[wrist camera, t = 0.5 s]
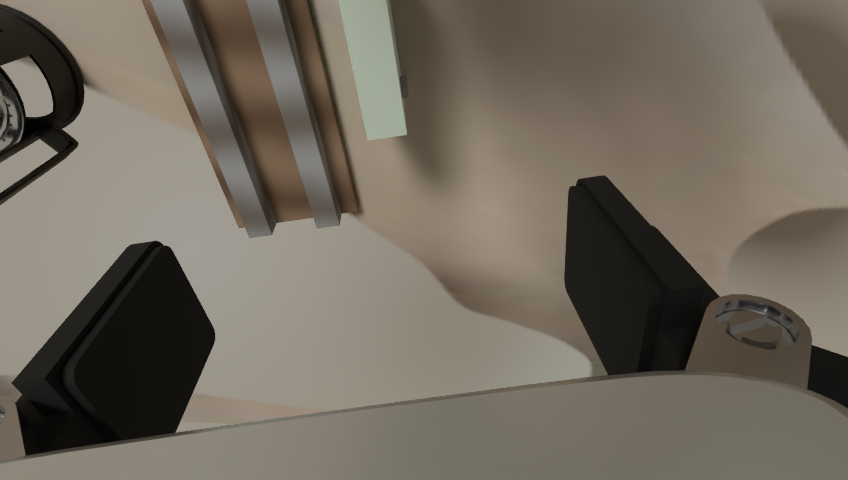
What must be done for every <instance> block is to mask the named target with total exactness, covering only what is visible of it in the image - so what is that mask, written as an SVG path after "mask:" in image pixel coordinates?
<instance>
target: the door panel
mask: <svg viewBox="0 0 848 480" xmlns="http://www.w3.org/2000/svg"><path fill="white" fill-rule="evenodd" d="M338 1H339V6H340V11H341V15H342V20H343V25H344V30H345V35H346V39H347V44H348V49H349V54H350V59H351V63H352V68H353V73H354V78H355V83H356V87H357V92H358V97H359V102H360V106H361V111H362V116H363V121H364V126H365V130H366V135H367V140H375V139H382V138H389V137H395V136H402V135H407V127H406V115H405V103H404V98H405V97H408V88H407V80H406V75H402V76H401V70H400V64H399V57H398V50H397V44H396V37H395V31H394V24H393V17H392V11H391V4H390V0H338Z"/></svg>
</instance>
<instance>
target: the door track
mask: <svg viewBox="0 0 848 480" xmlns="http://www.w3.org/2000/svg"><path fill="white" fill-rule="evenodd" d="M142 2H143V5H144V7H145V9H146V12H147V14H148V16H149V19H150V21H151V23H152V26H153V28H154V30H155V33H156V35H157V37H158V40H159V42H160V44H161V47H162V49H163V51H164V54H165V56H166V59H167V61H168V63H169V66H170V68H171V70H172V73H173V75H174V77H175V80H176V82H177V84H178V87H179V89H180V91H181V94H182V96H183V98H184V101H185V103H186V105H187V108H188V110H189V112H190V115H191V117H192V119H193V122H194V124H195V126H196V129H197V131H198V133H199V136H200V138H201V141H202V143H203V145H204V148H205V150H206V152H207V154H208V157H209V159H210V162H211V164H212V166H213V169H214V171H215V173H216V176H217V178H218V180H219V183H220V185H221V187H222V190H223V192H224V194H225V197H226V199H227V201H228V204H229V206H230V208H231V211H232V213H233V216H234V218H235V220H236V222H237V225H238V227H239V228H243V227H245V228H246V231H247V233H248V236H249V238H252V237H260V236H267V235H272V233H273V230H274V228H275V225H276V223H278V222H285V221H292V220H299V219H305V218H313V217H314V220H315V224H316V227H317V228H324V227H330V226H338V225H340V219H341V213H348V212H355V211H358V202H357V198H356V194H355V190H354V186H353V182H352V178H351V173H350V169H349V165H348V161H347V157H346V153H345V149H344V144H343V140H342V136H341V132H340V128H339V124H338V120H337V115H336V111H335V107H334V103H333V99H332V95H331V91H330V86H329V82H328V78H327V74H326V70H325V66H324V62H323V57H322V53H321V49H320V45H319V41H318V37H317V33H316V28H315V24H314V20H313V16H312V12H311V8H310V4H309V0H142Z"/></svg>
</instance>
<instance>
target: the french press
mask: <svg viewBox="0 0 848 480" xmlns="http://www.w3.org/2000/svg"><path fill="white" fill-rule="evenodd" d="M26 56H30V57H31V58H32V60H33V61H34V62H35V63H36V65H37V66H38V67H39V69H40V70H41V72H42V73H43V75H44V77H45V79H46V80H47V83H48V86H49V88H50V91H51V94H52V100H53V112H52V113H50V114H48V115H46V116H42V117H26V114H25V109H24V105H23V102H22V99H21V97H20V95H19V93H18V90H17V89H16V87H15V85H14V84H13V82H12V80H11V79H10V78H9V77H8V75H7V74H6V72H5V71H4V70H3V69H2V68H1V67H0V163H1V162H2V161H4V160H6V159H7V158H9V157H10V156H12V155H14V154H15V153H17V152H19V151H20V150H22V149H24V148H25V147H27V146H29V145H30V144H32V143H33V142H35V141H37V140H38V139H41V140H42V141H44V142H45V143H46V144H48V145H49V146H50V147H51V148H53V149H54V150H55V151H57V152H58V154H57V155H55V156H54V157H52V158H51V159H50V160H48V161H46V162H45V163H44V164H42V165H41V166H39V167H38V168H36V169H35V170H34V171H32V172H30V173H29V174H28V175H26V176H25V177H23V178H22V179H20V180H19V181H18V182H16V183H14V184H13V185H11V186H10V187H9V188H7V189H6V190H4V191H3V192H1V193H0V205H1V204H2V203H4V202H5V201H7V200H8V199H9V198H11V197H12V196H14V195H15V194H16V193H18V192H19V191H21V190H22V189H23V188H25V187H26V186H28V185H29V184H30V183H32V182H33V181H35V180H36V179H37V178H39V177H40V176H41V175H43V174H44V173H46V172H47V171H49V170H50V169H51V168H53V167H54V166H55V165H57V164H58V163H60V162H61V161H62V160H64V159H65V158H66V157H67V156H68V155H69V154H70V153H71V152H73V151H74V149H76V148H77V146H78V142H77V141H76V140H75V139H74V138H72V137H71V136H70V135H69V134H67V133H66V132H65V131H63V130H62V128H64V127H66V126H67V125H69V124H70V123H72V122H73V121H74V120H75V119H76V117H77V116H78V115H79V113H80V111H81V108H82V105H83V102H84V86H83V80H82V77H81V74H80V71H79V68H78V66H77V64H76V63H75V61H74V59H73V57H72V55H71V54H70V53H69V51H68V50H67V49H66V47H65V46H64V45H63V43H62V42H61V41H60V40H59V39H58V38H57V37H56V36H55V35H54V34H53V33H52V32H51V31H50V30H49V29H47V28H46V27H45V26H43V25H42V24H41V23H39V22H38V21H37V20H35V19H33V18H32V17H30V16H28V15H27V14H25V13H23V12H21V11H19V10H16V9H14V8H11V7H9V6H6V5H2V4H0V66H1V65H4V64H6V63H9V62H12V61H15V60H18V59H20V58H23V57H26Z"/></svg>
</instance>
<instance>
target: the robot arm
mask: <svg viewBox="0 0 848 480" xmlns="http://www.w3.org/2000/svg"><path fill="white" fill-rule="evenodd" d="M564 280H565V287H566V291H567V293H568V295H569V297H570V299H571V301H572V303H573V305H574V307H575V309H576V311H577V313H578V315H579V317H580V319H581V321H582V323H583V325H584V327H585V329H586V331H587V333H588V335H589V337H590V339H591V341H592V343H593V345H594V347H595V349H596V351H597V353H598V355H599V357H600V359H601V361H602V363H603V365H604V367H605V369H606V371H607V373H608V375H607V376H597V377H587V378H579V379H571V380H564V381H556V382H548V383H539V384H530V385H523V386H516V387H507V388H500V389H492V390H485V391H477V392H470V393H462V394H454V395H447V396H439V397H431V398H424V399H416V400H409V401H402V402H394V403H386V404H379V405H372V406H365V407H357V408H350V409H342V410H335V411H328V412H320V413H313V414H306V415H299V416H291V417H284V418H277V419H270V420H263V421H255V422H248V423H241V424H234V425H227V426H220V427H213V428H207V429H199V430H192V431H185V432H179V433H175V432H176V430H177V428H178V425H179V423H180V421H181V418H182V416H183V414H184V412H185V409H186V407H187V405H188V402H189V400H190V398H191V396H192V393H193V391H194V389H195V386H196V384H197V382H198V379H199V377H200V375H201V373H202V370H203V368H204V365H205V363H206V361H207V359H208V356H209V354H210V352H211V350H212V347H213V345H214V342H215V331H214V328H213V326H212V324H211V322H210V320H209V319H208V317H207V315H206V313H205V311H204V309H203V307H202V305H201V303H200V302H199V300H198V298H197V296H196V294H195V292H194V290H193V288H192V287H191V285H190V283H189V281H188V279H187V277H186V275H185V273H184V272H183V270H182V268H181V266H180V264H179V262H178V260H177V259H176V257H175V255H174V253H173V251H172V250H171V248H170V247H168V246H164V245H163V244H162V243H160V242H158V241H152V242H145V243H139V244H132V245H130V246H128V247H127V248H126V249H125V251H124V252H123V253H122V254H121V255H120V256H119V258H118V259H117V260H116V261H115V262H114V263H113V265H112V266H111V267H110V268H109V269H108V271H107V272H106V273H105V274H104V275H103V276H102V278H101V279H100V280H99V281H98V282H97V283H96V285H95V286H94V287H93V288H92V289H91V290H90V292H89V293H88V294H87V295H86V296H85V297H84V299H83V300H82V301H81V302H80V303H79V305H78V306H77V307H76V308H75V309H74V310H73V312H72V313H71V314H70V315H69V316H68V318H67V319H66V320H65V321H64V322H63V323H62V325H61V326H60V327H59V328H58V329H57V330H56V331H55V333H54V334H53V335H52V336H51V338H49V340H48V341H47V342H46V343H45V344H44V346H43V347H42V348H41V349H40V350H39V351H38V353H37V354H36V355H35V356H34V357H33V358H32V360H31V361H30V362H29V363H28V364H27V365H26V367H25V368H24V369H23V370H22V371H21V373H20V374H19V375H18V376H17V377H16V378H15V380H14V381H13V382H12V384H13V385H14V386H15V387H16V388H17V389H18V390H19V391H20V392H21V393H22V396H21V397H20V398H19V399H18V401H17V402H16V403H15V402H14V401H13V400H12V399H9V398H6V397H0V480H848V357H846V356H843V355H840V354H837V353H834V352H831V351H828V350H825V349H822V348H819V347H816V346H813V345H812V337H811V331H810V328H809V327H808V326H807V324H806V323H805V322H804V320H803V319H802V318H801V317H799V316H798V315H797V314H796V313H795V312H793V311H792V310H791V309H789V308H787V307H785V306H783V305H781V304H779V303H777V302H774V301H772V300H769V299H766V298H763V297H757V296H752V295H745V294H741V295H740V294H738V295H737V294H731V295H727V296H722V297H719V295H718V294H717V293H716V292H715V291H714V290H713V289H712V288H711V287H710V286H709V285H708V284H707V282H706V281H705V280H704V279H703V278H702V277H701V276H700V275H699V274H698V273H697V272H696V271H695V269H694V268H693V267H692V266H691V265H690V264H689V263H688V262H687V261H686V260H685V259H684V257H683V256H682V255H681V254H680V253H679V252H678V251H677V250H676V249H675V248H674V247H673V246H672V244H671V243H670V242H669V241H668V240H667V239H666V238H665V237H664V236H663V235H662V234H661V232H660V231H659V230H658V229H656V228H655V227H654V226H651V225H650V224H649V223H648V222H647V221H646V220H645V219H644V217H643V216H642V215H641V214H640V213H639V212H638V211H637V210H636V209H635V208H634V206H633V205H632V204H631V203H630V202H629V201H628V200H627V199H626V198H625V197H624V195H623V194H622V193H621V192H620V191H619V190H618V189H617V188H616V187H615V186H614V184H613V183H612V182H611V181H610V180H609V179H608V178H607V177H606V176H605V175H604V176H596V177H589V178H583V179H579V180H578V181H577V184H576V186H571V187H570V188H569V193H568V214H567V234H566V255H565V276H564Z"/></svg>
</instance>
